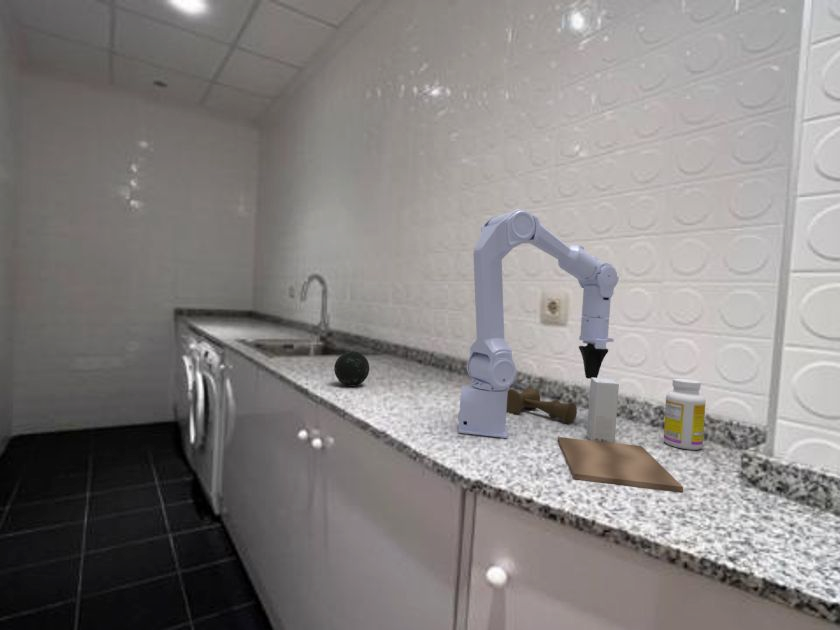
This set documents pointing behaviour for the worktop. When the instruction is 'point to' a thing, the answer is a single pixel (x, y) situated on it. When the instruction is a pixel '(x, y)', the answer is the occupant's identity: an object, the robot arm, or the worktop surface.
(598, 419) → the skincare box
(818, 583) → the worktop surface
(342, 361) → the decorative stone
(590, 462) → the walnut board
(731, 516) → the worktop surface
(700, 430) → the supplement bottle
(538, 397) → the kendama
